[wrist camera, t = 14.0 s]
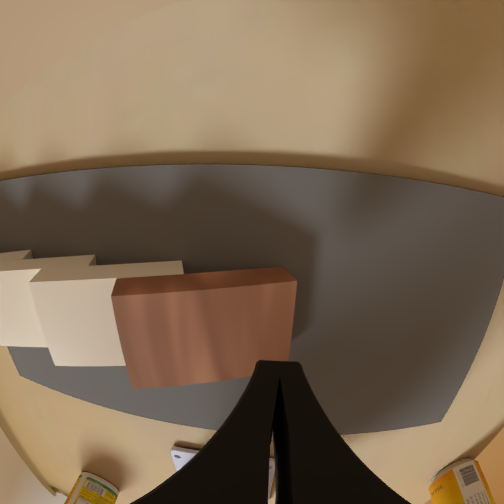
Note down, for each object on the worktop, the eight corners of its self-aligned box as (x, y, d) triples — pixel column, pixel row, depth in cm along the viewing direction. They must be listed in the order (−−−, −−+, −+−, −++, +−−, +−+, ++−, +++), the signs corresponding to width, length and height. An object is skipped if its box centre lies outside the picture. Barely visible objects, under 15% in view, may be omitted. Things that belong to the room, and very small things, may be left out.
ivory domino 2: (183, 273, 12) (28, 282, 10) (191, 361, 13) (54, 365, 11) (181, 260, 13) (41, 268, 12) (187, 342, 15) (62, 347, 13)
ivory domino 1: (88, 265, 12) (-23, 272, 10) (105, 346, 14) (0, 345, 12) (95, 254, 14) (-10, 262, 12) (108, 330, 15) (9, 331, 13)
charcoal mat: (438, 417, 16) (440, 421, 16) (22, 372, 19) (19, 375, 18) (513, 199, 11) (519, 201, 11) (-25, 185, 14) (-30, 186, 13)
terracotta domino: (297, 280, 12) (110, 296, 10) (287, 369, 13) (132, 388, 11) (282, 266, 13) (116, 278, 11) (275, 350, 14) (133, 365, 13)
